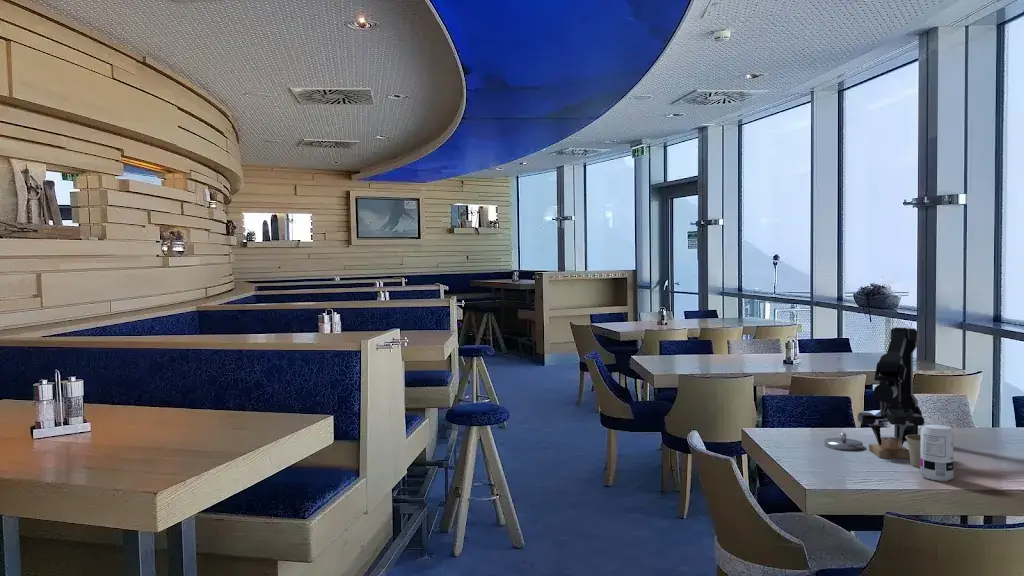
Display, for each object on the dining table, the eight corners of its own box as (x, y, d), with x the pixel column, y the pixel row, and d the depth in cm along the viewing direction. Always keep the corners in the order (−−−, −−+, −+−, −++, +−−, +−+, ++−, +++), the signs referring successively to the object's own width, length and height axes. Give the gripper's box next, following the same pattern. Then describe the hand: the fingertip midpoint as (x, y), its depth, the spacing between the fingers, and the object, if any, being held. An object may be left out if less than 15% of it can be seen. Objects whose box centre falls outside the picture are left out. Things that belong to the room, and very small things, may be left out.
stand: (901, 450, 236) (901, 436, 236) (912, 458, 226) (912, 443, 226) (869, 449, 237) (869, 435, 237) (879, 457, 228) (879, 442, 227)
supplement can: (914, 474, 209) (914, 423, 209) (940, 473, 210) (940, 423, 209) (932, 482, 201) (933, 430, 201) (960, 481, 202) (960, 429, 201)
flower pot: (938, 463, 220) (938, 435, 220) (942, 471, 212) (942, 442, 212) (904, 460, 224) (904, 433, 224) (906, 468, 216) (906, 439, 215)
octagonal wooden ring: (897, 446, 234) (897, 437, 234) (904, 450, 228) (904, 441, 228) (877, 445, 235) (877, 436, 235) (883, 450, 229) (883, 441, 229)
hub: (856, 442, 247) (856, 429, 247) (867, 451, 236) (867, 437, 236) (820, 441, 250) (820, 428, 249) (829, 450, 238) (829, 436, 238)
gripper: (867, 401, 225) (867, 450, 225) (931, 402, 222) (931, 452, 222) (857, 395, 236) (857, 441, 236) (917, 396, 233) (917, 443, 233)
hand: (890, 445), depth 232 cm, fingers closed on octagonal wooden ring, 6 cm apart
